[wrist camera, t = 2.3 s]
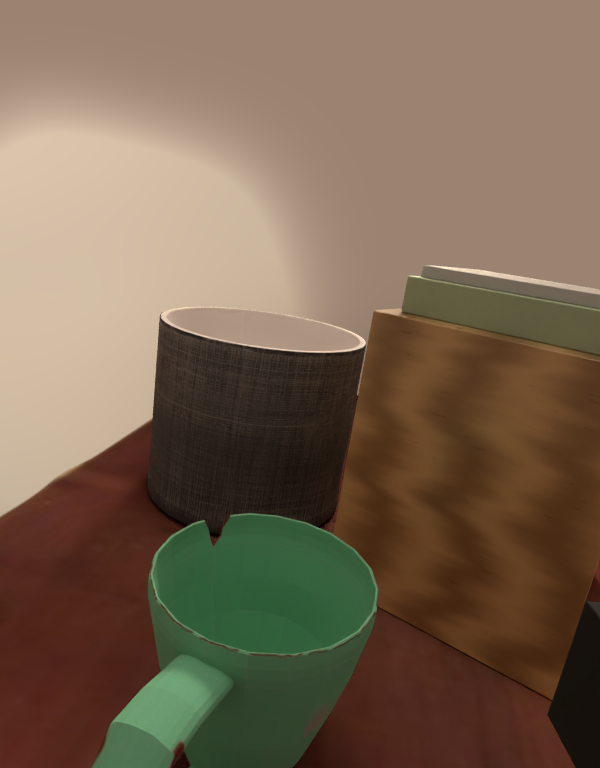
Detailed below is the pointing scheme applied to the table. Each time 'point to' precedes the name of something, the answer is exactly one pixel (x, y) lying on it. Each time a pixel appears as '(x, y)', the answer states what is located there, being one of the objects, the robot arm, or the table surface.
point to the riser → (477, 489)
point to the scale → (508, 306)
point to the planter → (250, 414)
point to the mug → (245, 645)
